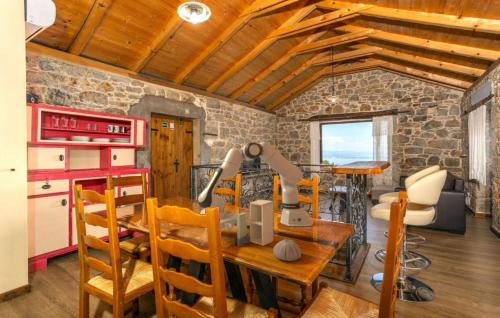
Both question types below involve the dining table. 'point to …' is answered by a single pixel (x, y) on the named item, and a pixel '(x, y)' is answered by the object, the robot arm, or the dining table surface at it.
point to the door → (241, 225)
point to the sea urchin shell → (287, 250)
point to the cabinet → (259, 224)
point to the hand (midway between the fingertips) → (238, 223)
